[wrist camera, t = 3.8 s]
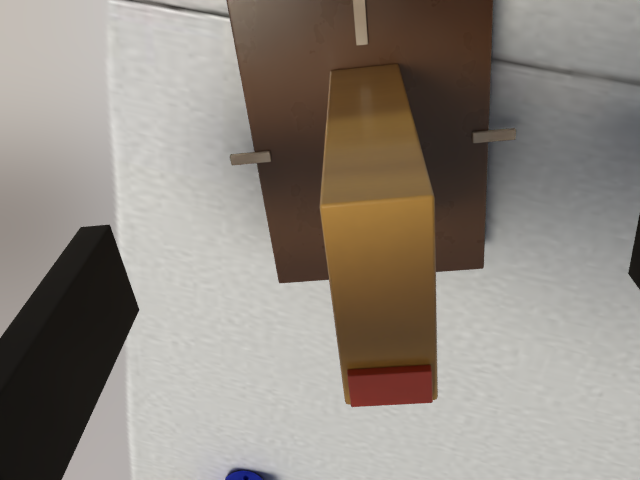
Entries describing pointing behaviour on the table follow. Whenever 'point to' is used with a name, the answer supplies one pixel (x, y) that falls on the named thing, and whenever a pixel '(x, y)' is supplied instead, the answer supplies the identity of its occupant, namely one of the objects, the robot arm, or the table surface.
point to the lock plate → (312, 97)
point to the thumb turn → (379, 240)
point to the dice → (243, 476)
